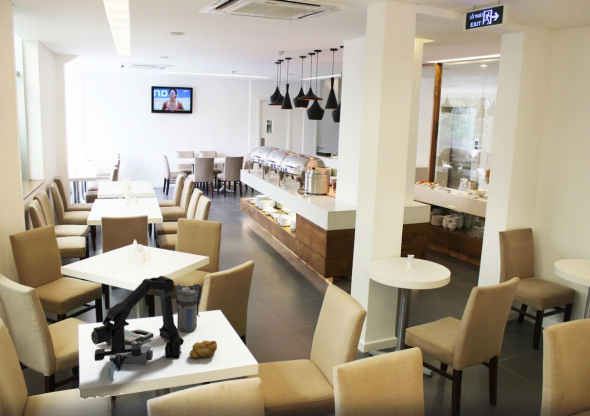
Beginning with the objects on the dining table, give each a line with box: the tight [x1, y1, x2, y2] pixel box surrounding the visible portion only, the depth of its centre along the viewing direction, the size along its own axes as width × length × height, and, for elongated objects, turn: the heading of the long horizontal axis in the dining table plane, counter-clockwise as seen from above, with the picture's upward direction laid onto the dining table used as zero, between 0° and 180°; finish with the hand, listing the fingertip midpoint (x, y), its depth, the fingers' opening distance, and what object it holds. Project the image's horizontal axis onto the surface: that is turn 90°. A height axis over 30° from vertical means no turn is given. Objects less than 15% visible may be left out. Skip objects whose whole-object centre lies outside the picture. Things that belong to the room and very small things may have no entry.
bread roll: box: [189, 339, 218, 360], centre depth 238 cm, size 13×10×8 cm
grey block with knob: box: [117, 345, 154, 366], centre depth 229 cm, size 17×7×7 cm, turn 91°
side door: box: [108, 361, 116, 381], centre depth 219 cm, size 15×2×6 cm, turn 15°
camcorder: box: [105, 328, 155, 346], centre depth 249 cm, size 16×20×5 cm
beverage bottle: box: [175, 283, 202, 333], centre depth 266 cm, size 10×13×25 cm
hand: (118, 370), depth 216 cm, fingers closed
